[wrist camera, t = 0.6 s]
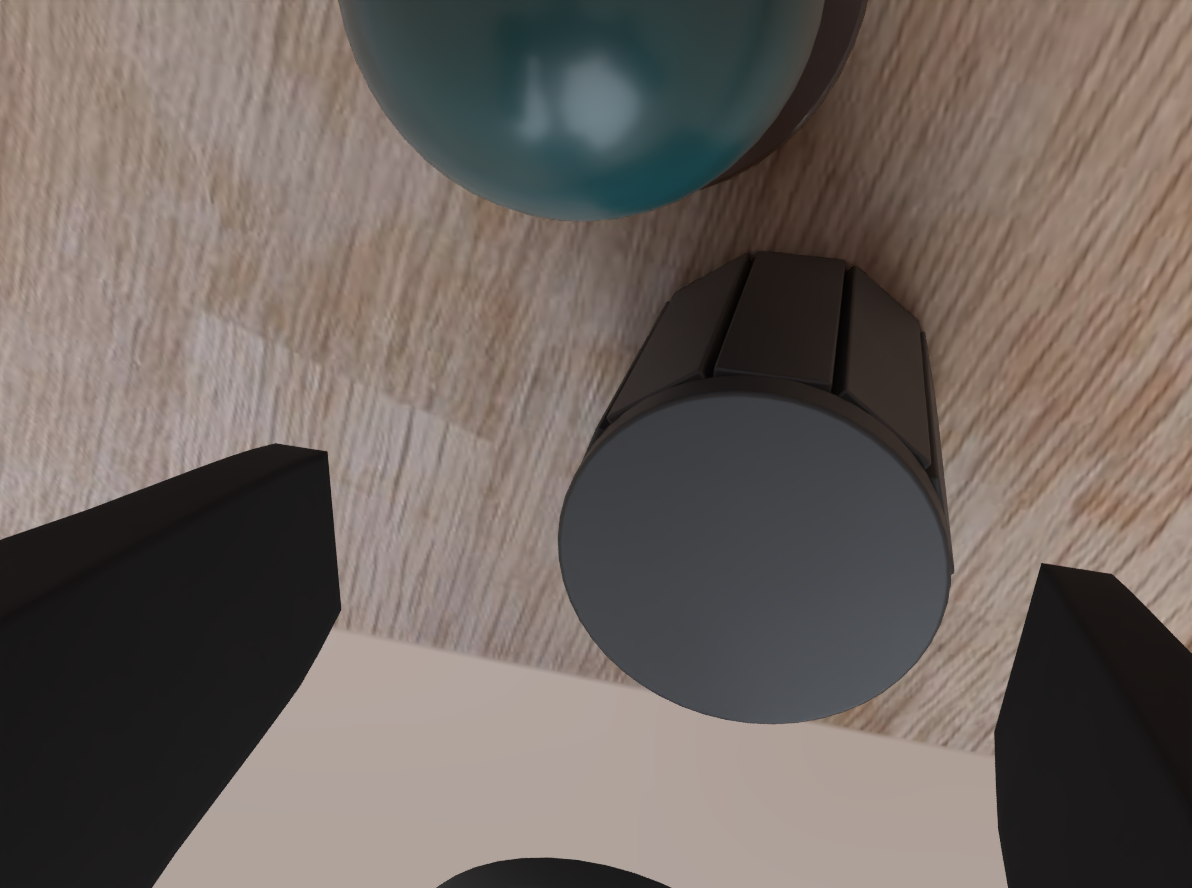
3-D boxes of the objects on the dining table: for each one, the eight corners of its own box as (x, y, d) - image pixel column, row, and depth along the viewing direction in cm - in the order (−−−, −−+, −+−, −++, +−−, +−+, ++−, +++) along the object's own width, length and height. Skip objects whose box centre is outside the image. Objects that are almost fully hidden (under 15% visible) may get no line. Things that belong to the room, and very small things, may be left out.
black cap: (909, 537, 20) (918, 759, 15) (630, 493, 21) (546, 686, 16) (964, 272, 17) (999, 425, 12) (647, 237, 18) (554, 364, 13)
